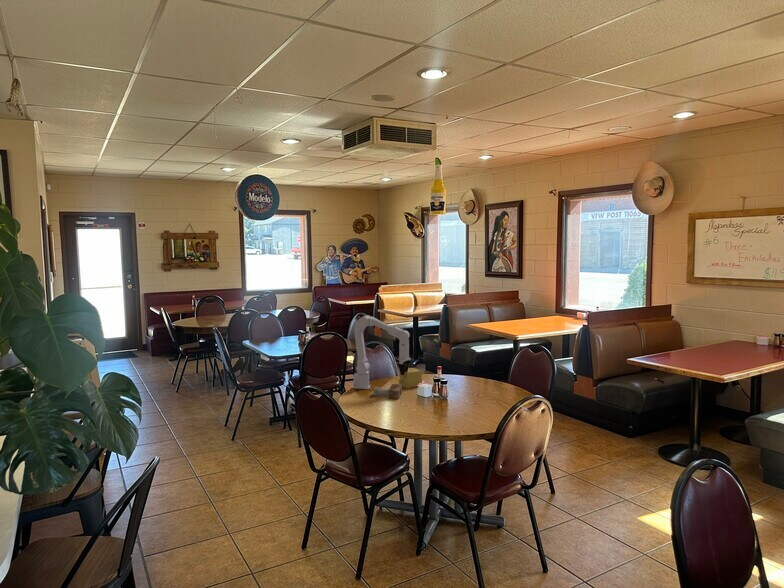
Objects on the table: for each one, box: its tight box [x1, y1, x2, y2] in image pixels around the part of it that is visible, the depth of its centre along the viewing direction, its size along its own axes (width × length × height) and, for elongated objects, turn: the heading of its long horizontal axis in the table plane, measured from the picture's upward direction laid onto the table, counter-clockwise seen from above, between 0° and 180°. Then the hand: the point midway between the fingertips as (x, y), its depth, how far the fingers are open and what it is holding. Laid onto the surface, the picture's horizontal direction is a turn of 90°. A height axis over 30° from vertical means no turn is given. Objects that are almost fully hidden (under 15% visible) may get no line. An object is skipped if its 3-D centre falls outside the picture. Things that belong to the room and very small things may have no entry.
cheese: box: [398, 367, 423, 389], centre depth 335 cm, size 10×11×10 cm
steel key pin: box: [373, 386, 389, 397], centre depth 314 cm, size 13×6×4 cm, turn 81°
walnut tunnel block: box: [387, 383, 403, 400], centre depth 313 cm, size 6×14×5 cm, turn 171°
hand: (404, 373), depth 325 cm, fingers open, 7 cm apart
